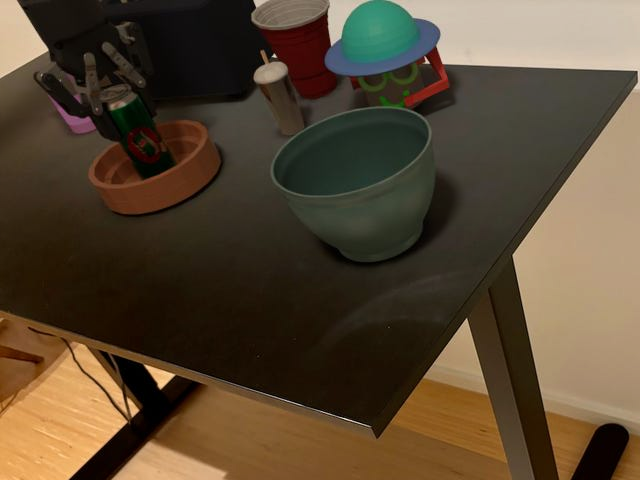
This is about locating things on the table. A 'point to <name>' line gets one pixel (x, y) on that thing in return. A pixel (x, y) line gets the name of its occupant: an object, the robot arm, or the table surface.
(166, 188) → the terracotta plant saucer
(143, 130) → the soda can
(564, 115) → the table surface
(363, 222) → the flower pot
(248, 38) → the speaker
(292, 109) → the milkshake
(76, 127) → the bracket
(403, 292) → the table surface
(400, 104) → the toy robot
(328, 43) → the plastic cup
